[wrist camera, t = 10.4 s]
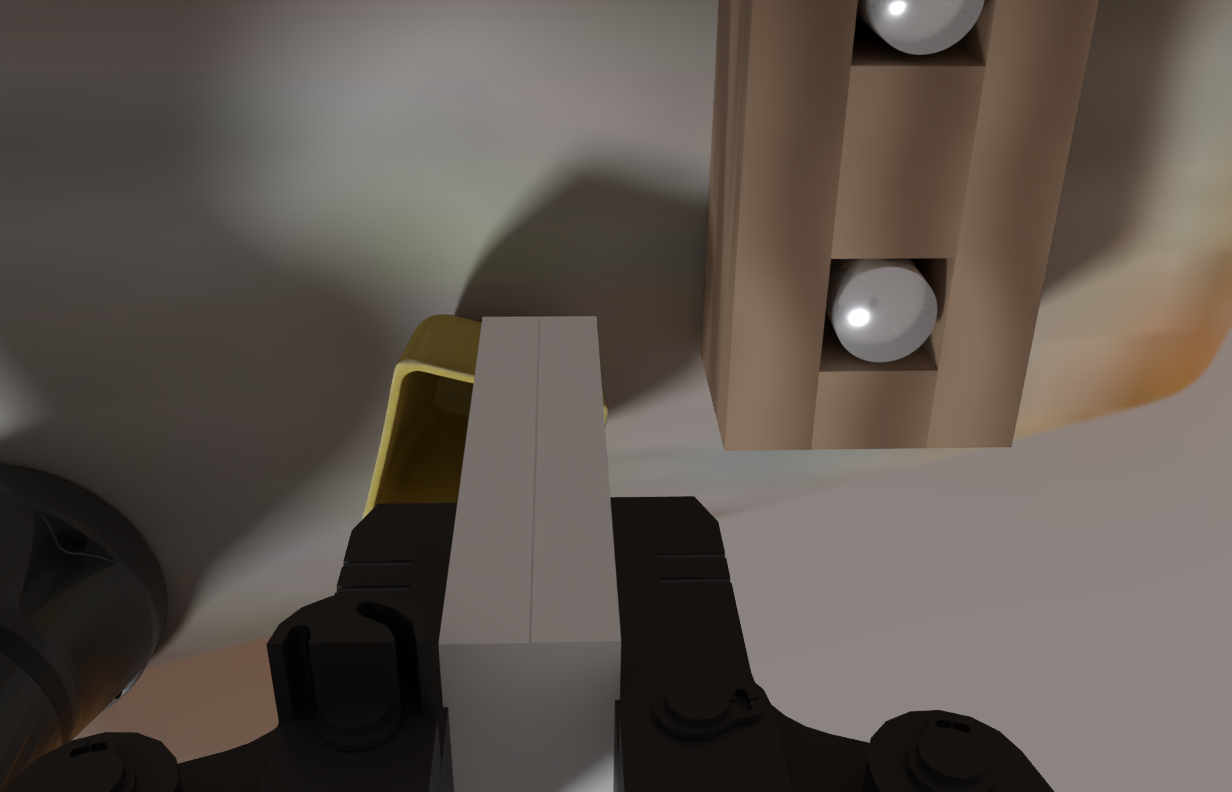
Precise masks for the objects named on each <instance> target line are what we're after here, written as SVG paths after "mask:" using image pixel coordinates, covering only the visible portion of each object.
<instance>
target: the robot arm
mask: <svg viewBox="0 0 1232 792" xmlns="http://www.w3.org/2000/svg"><path fill="white" fill-rule="evenodd" d="M166 613H167V597H166V590H165V584H164V580H163V577H162V574H161V571H160V568H159V566H158V564H157V562H156V559H155V558H154V556H153V554H152V552H151V550H150V549H149V547H148V546H147V544H146V543H145V541H144V540H143V539H142V537H141V536H140V535H139V533H138V532H137V531H136V530H135V529H134V528H133V527H132V526H131V525H130V524H129V523H128V522H127V521H126V520H125V519H124V518H123V517H122V516H121V515H120V514H119V513H118V512H117V511H115V510H114V509H113V508H112V507H110V506H109V505H108V504H106V503H105V502H103V501H102V500H100V499H99V498H98V497H96V496H94V495H93V494H91V493H89V492H88V491H86V490H84V489H82V488H80V487H78V486H76V485H74V484H72V483H70V482H68V481H65V480H63V479H60V478H58V477H55V476H52V475H49V474H46V473H43V472H40V471H36V470H32V469H28V468H23V467H18V466H11V465H3V464H0V792H1054V791H1053V789H1052V788H1051V787H1050V786H1049V784H1048V783H1047V782H1046V781H1045V779H1044V778H1043V777H1042V776H1041V775H1040V773H1039V772H1038V771H1037V770H1036V768H1035V767H1034V766H1033V765H1032V763H1031V762H1030V761H1029V760H1028V758H1027V757H1026V756H1025V755H1024V753H1023V752H1022V751H1021V750H1020V749H1019V748H1018V747H1016V746H1015V745H1014V744H1013V743H1012V742H1011V741H1010V740H1009V739H1007V738H1006V737H1005V736H1004V735H1003V734H1002V733H1001V732H1000V731H998V730H996V729H994V728H992V727H990V726H988V725H986V724H984V723H982V722H980V721H978V720H976V719H974V718H972V717H969V716H964V715H960V714H955V713H950V712H946V711H941V710H932V711H911V712H908V713H906V714H903V715H900V716H898V717H895V718H893V719H890V720H888V721H886V722H885V723H884V724H883V725H882V726H881V727H880V728H879V730H878V731H877V732H876V733H875V734H874V735H873V737H871V741H870V743H868V742H864V741H859V740H855V739H850V738H846V737H841V736H837V735H832V734H828V733H825V732H822V731H819V730H816V729H812V728H809V727H806V726H804V725H802V724H800V723H798V722H796V721H794V720H793V719H791V718H788V717H787V716H785V715H784V714H782V713H781V712H780V711H778V710H777V709H776V708H775V707H774V706H772V705H771V703H770V701H769V699H768V697H767V695H766V693H765V691H764V690H763V689H762V688H761V687H760V686H759V685H757V684H756V683H755V682H754V679H753V676H752V674H751V670H750V666H749V661H748V656H747V652H746V648H745V643H744V638H743V633H742V629H741V624H740V620H739V615H738V610H737V606H736V601H735V597H734V592H733V587H732V583H730V574H729V569H728V565H727V560H726V558H725V551H724V546H723V542H722V537H721V533H720V528H719V523H718V521H717V520H716V519H715V518H714V517H713V516H712V515H711V514H710V513H709V512H708V511H707V510H706V508H705V507H704V506H703V505H702V504H701V503H700V502H699V501H698V500H697V499H696V498H695V497H694V496H684V497H610V488H609V475H608V462H607V448H606V435H605V422H604V409H603V396H602V382H601V369H600V356H599V343H598V330H597V316H546V317H482V325H481V332H480V340H479V347H478V355H477V362H476V369H475V377H474V384H473V392H472V399H471V407H470V414H469V421H468V429H467V436H466V444H465V451H464V459H463V466H462V473H461V481H460V488H459V496H458V503H389V504H377V505H376V506H375V507H374V508H373V509H372V510H371V511H370V512H369V513H368V514H367V515H366V516H365V517H364V518H363V519H362V521H361V522H360V523H359V524H358V525H357V526H356V527H355V528H354V529H353V530H352V532H351V535H350V539H349V543H348V546H347V550H346V554H345V558H344V566H343V567H342V569H341V572H340V576H339V580H338V584H337V593H335V595H334V596H330V597H328V598H325V599H323V600H320V601H317V602H315V603H312V604H310V605H307V606H304V607H302V608H300V609H299V610H298V611H296V612H295V613H294V614H292V615H291V616H290V617H288V618H287V619H286V620H284V621H283V622H282V623H280V624H279V625H278V627H277V629H276V630H275V632H274V633H273V635H272V636H271V638H270V640H269V641H268V643H267V651H268V657H269V663H270V669H271V676H272V681H273V688H274V694H275V700H276V706H277V713H278V719H279V723H278V726H277V727H276V728H275V729H274V730H273V731H271V732H269V733H267V734H265V735H263V736H262V737H260V738H258V739H256V740H254V741H252V742H251V743H248V744H245V745H242V746H239V747H237V748H233V749H231V750H228V751H224V752H221V753H217V754H213V755H210V756H206V757H202V758H198V759H194V760H190V761H186V762H183V763H179V764H177V760H176V758H175V756H174V755H173V754H172V753H171V752H170V751H169V750H168V749H167V748H166V746H165V745H164V744H163V743H162V742H161V741H158V740H156V739H153V738H150V737H147V736H144V735H141V734H139V733H131V732H128V733H127V732H122V733H121V732H120V733H119V732H114V733H113V732H105V733H101V734H96V735H92V736H88V737H85V738H80V739H77V740H73V739H74V738H75V737H76V736H77V735H78V734H79V733H80V732H81V731H82V730H83V729H84V728H86V726H88V725H89V724H90V723H91V722H92V721H93V720H94V719H95V718H96V717H97V716H98V715H99V714H100V713H101V712H102V711H104V710H105V709H107V708H108V707H110V706H111V705H113V704H114V703H115V702H116V701H118V700H119V699H120V698H121V697H122V696H123V695H125V694H126V693H127V692H128V691H129V690H130V689H131V688H132V686H133V685H134V684H135V683H136V681H137V680H138V679H139V677H140V676H141V675H142V673H143V672H144V670H145V668H146V667H147V665H148V663H149V661H150V658H151V656H152V654H153V652H154V650H155V648H156V646H157V643H158V641H159V639H160V637H161V634H162V631H163V629H164V625H165V620H166Z"/></svg>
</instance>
